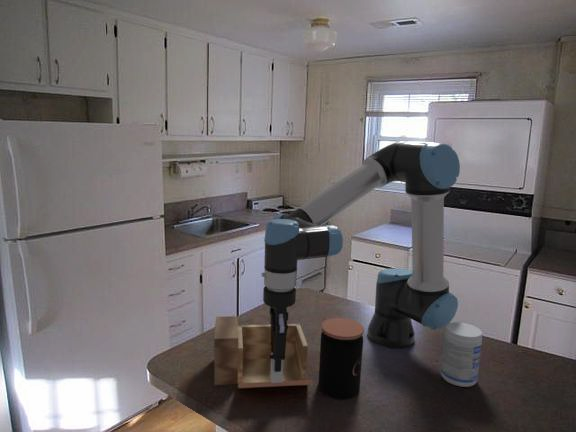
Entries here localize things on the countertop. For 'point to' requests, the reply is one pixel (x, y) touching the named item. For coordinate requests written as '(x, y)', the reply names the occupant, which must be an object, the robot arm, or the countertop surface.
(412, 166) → the robot arm
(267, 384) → the panel
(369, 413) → the countertop surface
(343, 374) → the coffee jar
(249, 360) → the box
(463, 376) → the supplement tub
